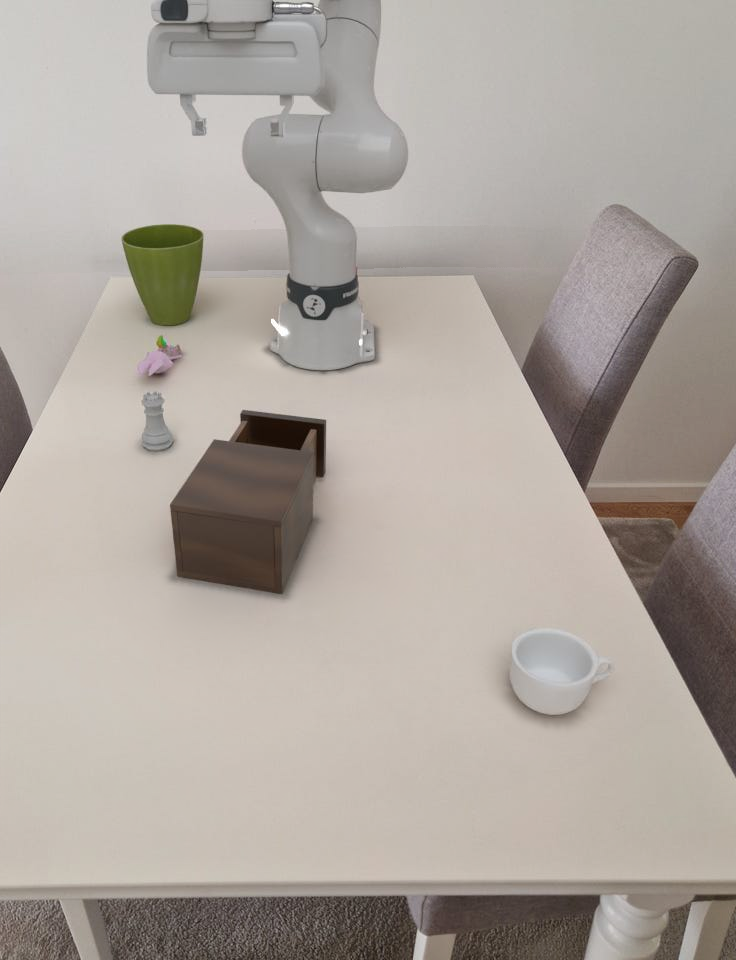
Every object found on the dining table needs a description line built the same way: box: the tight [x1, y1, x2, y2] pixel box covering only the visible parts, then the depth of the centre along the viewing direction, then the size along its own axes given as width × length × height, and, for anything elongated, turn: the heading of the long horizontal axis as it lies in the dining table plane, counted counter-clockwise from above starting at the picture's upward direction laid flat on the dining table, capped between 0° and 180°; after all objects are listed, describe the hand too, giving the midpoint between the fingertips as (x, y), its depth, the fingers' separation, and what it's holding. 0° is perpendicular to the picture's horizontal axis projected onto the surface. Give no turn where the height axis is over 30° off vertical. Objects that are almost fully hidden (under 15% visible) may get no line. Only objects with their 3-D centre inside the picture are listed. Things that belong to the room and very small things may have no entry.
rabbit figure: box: [136, 334, 183, 377], centre depth 142 cm, size 6×6×15 cm
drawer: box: [228, 409, 327, 488], centre depth 109 cm, size 18×11×8 cm, turn 165°
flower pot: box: [120, 223, 204, 326], centre depth 158 cm, size 15×15×16 cm
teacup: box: [509, 627, 615, 716], centre depth 80 cm, size 10×8×5 cm
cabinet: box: [169, 438, 314, 595], centre depth 99 cm, size 15×13×10 cm
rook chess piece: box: [140, 390, 174, 452], centre depth 120 cm, size 4×4×8 cm
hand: (238, 135), depth 100 cm, fingers open, 8 cm apart
